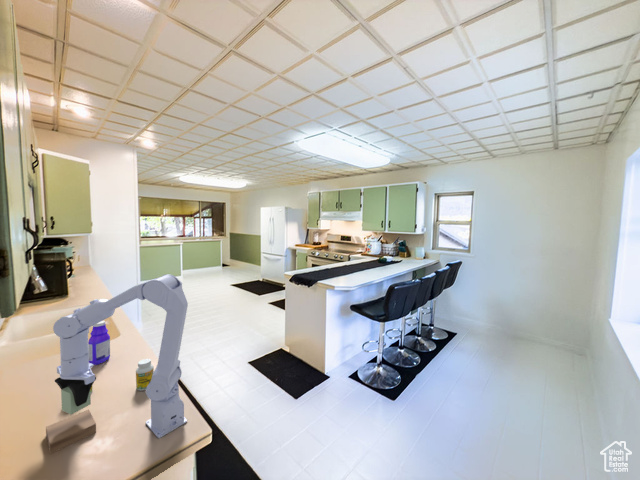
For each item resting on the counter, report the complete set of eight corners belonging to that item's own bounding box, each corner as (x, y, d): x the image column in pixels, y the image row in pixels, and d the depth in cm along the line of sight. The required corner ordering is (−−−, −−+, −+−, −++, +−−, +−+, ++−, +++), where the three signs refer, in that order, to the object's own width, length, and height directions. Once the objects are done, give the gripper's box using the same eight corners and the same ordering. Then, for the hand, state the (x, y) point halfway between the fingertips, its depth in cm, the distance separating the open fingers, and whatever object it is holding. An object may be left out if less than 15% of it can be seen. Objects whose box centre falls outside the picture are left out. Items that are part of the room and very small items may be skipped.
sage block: (90, 404, 74) (90, 384, 74) (71, 414, 70) (70, 393, 70) (81, 400, 76) (80, 380, 76) (61, 410, 72) (61, 389, 71)
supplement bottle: (153, 380, 97) (153, 356, 97) (154, 388, 93) (153, 362, 92) (136, 385, 94) (136, 360, 94) (135, 393, 90) (135, 366, 89)
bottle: (102, 357, 114) (101, 318, 113) (113, 358, 113) (112, 319, 113) (85, 365, 107) (84, 324, 106) (97, 366, 106) (96, 325, 105)
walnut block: (96, 433, 73) (95, 423, 73) (50, 455, 66) (50, 444, 65) (89, 418, 78) (88, 409, 78) (46, 437, 71) (45, 426, 71)
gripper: (107, 353, 73) (108, 399, 74) (77, 344, 79) (78, 387, 79) (76, 366, 67) (77, 416, 67) (46, 355, 72) (48, 401, 73)
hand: (76, 401), depth 73 cm, fingers closed on sage block, 4 cm apart
